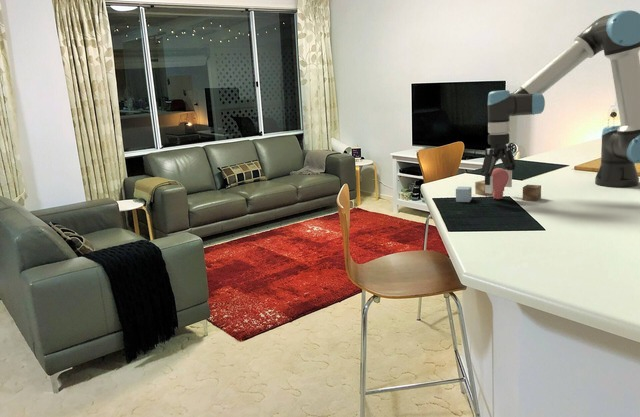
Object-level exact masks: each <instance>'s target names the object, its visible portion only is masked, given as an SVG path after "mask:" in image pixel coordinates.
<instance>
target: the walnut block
mask: <svg viewBox="0 0 640 417" xmlns="http://www.w3.org/2000/svg"><path fill="white" fill-rule="evenodd" d="M541 199H542V185H540V184H525V185H524V186H522V201H529V202H530V201H532V202H538V201H539V200H541Z"/></svg>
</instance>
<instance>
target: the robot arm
mask: <svg viewBox="0 0 640 417" xmlns="http://www.w3.org/2000/svg"><path fill="white" fill-rule="evenodd" d="M602 51H603V54H604V55H603V56H604V57H605V58H607V59H608V60H610V66H611V73H612V78H613V79H612V80H613V83H614V84H613V85H614V91H615V96H616V103H617V109H618V110H617V111H618V115H619V120H620V121H619V122H620V125H613V126H606V127H603V129H602V133H601V153H600V166H599V168H598V170H597V173H596V176H595V177H594V178H595V179H594V183H595V184H596V185H597V186H603V187H611V188H612V187H614V188H615V187H617V188H624V187H625V188H626V187H628V188H629V187H634V186H638V185H639V183H640V178H639V177H640V176H639V173H638V171H637V168H636V164H640V56H639V52H640V13H639V12H637V11H635V10H631V9H630V10H627V9H626V10H620V11H617V12H615V13H609V14H607V15H603V16H602V17H599V18H598V19H596V20H594V22H592V23H591V24H590V25H589V26H588V27H587V28H585V29H584V30H583V31H582V32H580V34H578V35H577V36H576V37H575V38H574V39H573V43H572V44H570V45H569V46H568V47H567V48H566V49H565V50H563V51H562V52H561V53H560V54H558V55H557V56H556V57H554V59H552V60H551V61H550V62H549V63H547V64H546V65H545V66H544V67H543V68H541V69H540V70H539V71H538V72H536V73H535V74H534V75H533V76H532V77H531V78H529V79H528V80H526V82H524V83H523V84H522V85H520V87H519V88H517V89H516V90H514V91H513V92H512V93H511V92H510V90H506V89H505V90H504V89H503V90H492V91H490V92H488V95H487V133H488V135H487V143H488V145H490V148H485V151H484V152H485V153H484V155H485V156H484V158H483V162H482V163H483V164H482V168H481V170H480V175H481V176H483V177H484V180H485V193H489V195H493V194H492V193H493V176H491V174H492V172H493V170H494V169H495V166H496V164H497V162H498V161H500V160H501V162H502V164H503V166H504V168H505V170H506V171H507V173H508V175H509V179H508V182H507V184H506V186H505V187H506V188H512V187H513V171H515V170H516V167H517V166H516V162H515V158H514V154H513V149H512V144H510V134H509V133H510V131H511V130H510V127H511V125H510V117H514V116H519V117H520V116H531V115H532V116H535V115H540V114H542V113H543V112H544V109H545V107H546V101H545V97H544V95H543V94H544V93H545V92H547V91H548V90H549V89H550V88H552V87H553V86H554V85H555V84H556V83H558V82H559V81H560V80H561V79H563V78H565V76H566V75H568V74H569V73H570V72H572V71H573V70H574V69H576V67H577V66H579V65H580V64H581V63H583V62H584V61H585V60H586V59H588V58H593V57H594V56H595V55H597V54H598V53H600V52H602Z"/></svg>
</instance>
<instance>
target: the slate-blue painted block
mask: <svg viewBox="0 0 640 417" xmlns="http://www.w3.org/2000/svg"><path fill="white" fill-rule="evenodd" d="M455 201H456V203H457V202H458V203H470V202H471V201H472V186H457V187H456V188H455Z"/></svg>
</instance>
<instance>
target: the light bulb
mask: <svg viewBox="0 0 640 417" xmlns="http://www.w3.org/2000/svg"><path fill="white" fill-rule="evenodd" d="M506 170H507V169H504V168H502V167H496V168H494V169H493V172H492V174H491V176H493V191H494V193H493V194H492V196H493V199H496V200H501V199H503V198H504V192H505V186H506V184H507V182H508V179H509V175H508V173H507V171H506Z"/></svg>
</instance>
